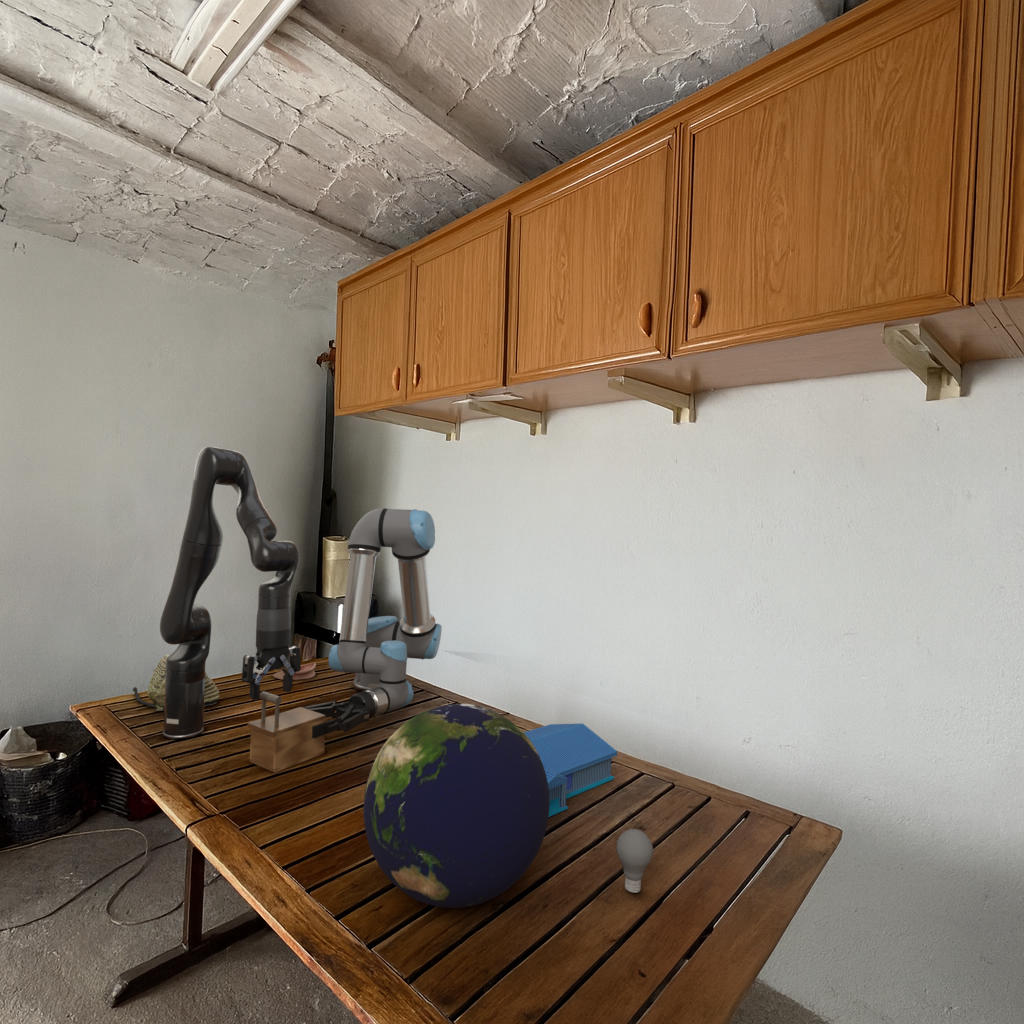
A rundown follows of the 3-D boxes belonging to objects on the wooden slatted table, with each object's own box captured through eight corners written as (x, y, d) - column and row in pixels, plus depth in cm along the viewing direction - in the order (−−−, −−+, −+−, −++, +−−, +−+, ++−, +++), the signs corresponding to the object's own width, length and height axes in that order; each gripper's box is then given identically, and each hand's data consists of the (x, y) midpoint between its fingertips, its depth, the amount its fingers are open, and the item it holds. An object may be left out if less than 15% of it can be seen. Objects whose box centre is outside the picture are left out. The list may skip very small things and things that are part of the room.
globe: (319, 919, 95) (326, 721, 95) (420, 827, 123) (427, 673, 122) (502, 984, 84) (511, 760, 83) (568, 867, 112) (576, 698, 111)
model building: (497, 839, 120) (500, 786, 120) (424, 791, 138) (425, 745, 138) (625, 783, 146) (627, 740, 146) (549, 749, 164) (551, 711, 164)
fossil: (144, 707, 182) (145, 655, 182) (212, 696, 194) (213, 647, 194) (151, 716, 175) (153, 662, 175) (221, 703, 188) (223, 653, 188)
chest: (274, 772, 144) (276, 735, 144) (249, 761, 149) (250, 725, 149) (324, 753, 156) (325, 718, 156) (299, 743, 161) (300, 710, 161)
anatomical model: (267, 666, 215) (286, 658, 227) (267, 678, 215) (286, 669, 227) (303, 670, 213) (320, 662, 224) (303, 682, 213) (320, 673, 224)
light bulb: (610, 879, 108) (613, 822, 108) (644, 879, 109) (647, 822, 109) (619, 902, 102) (622, 840, 102) (655, 901, 103) (658, 840, 103)
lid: (272, 736, 143) (274, 701, 143) (247, 726, 149) (248, 692, 148) (325, 718, 156) (326, 686, 156) (300, 710, 161) (301, 678, 161)
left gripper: (256, 633, 140) (254, 706, 140) (309, 624, 152) (307, 691, 152) (236, 628, 144) (234, 699, 144) (289, 620, 156) (287, 685, 156)
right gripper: (396, 727, 168) (329, 754, 149) (339, 709, 180) (270, 731, 161) (397, 699, 168) (330, 722, 149) (340, 683, 180) (271, 702, 161)
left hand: (271, 695), depth 148 cm, fingers open, 8 cm apart
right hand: (299, 727), depth 155 cm, fingers closed on chest, 9 cm apart
